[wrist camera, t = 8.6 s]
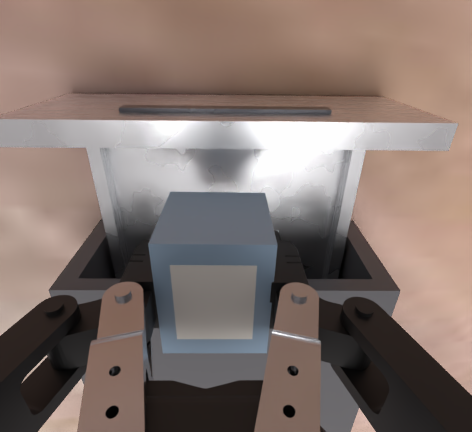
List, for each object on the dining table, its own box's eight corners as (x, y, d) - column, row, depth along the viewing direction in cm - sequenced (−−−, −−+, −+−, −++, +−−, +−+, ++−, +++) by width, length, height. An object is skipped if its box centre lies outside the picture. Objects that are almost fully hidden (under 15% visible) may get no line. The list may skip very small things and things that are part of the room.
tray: (68, 89, 20) (-16, 114, 13) (384, 93, 20) (460, 118, 13) (118, 301, 28) (83, 380, 22) (336, 301, 29) (367, 379, 22)
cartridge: (264, 192, 13) (277, 245, 10) (258, 284, 16) (266, 353, 12) (170, 191, 13) (147, 243, 10) (178, 283, 15) (162, 353, 12)
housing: (101, 219, 25) (48, 290, 18) (353, 220, 25) (400, 290, 18) (134, 365, 33) (108, 451, 26) (320, 365, 34) (343, 450, 27)
